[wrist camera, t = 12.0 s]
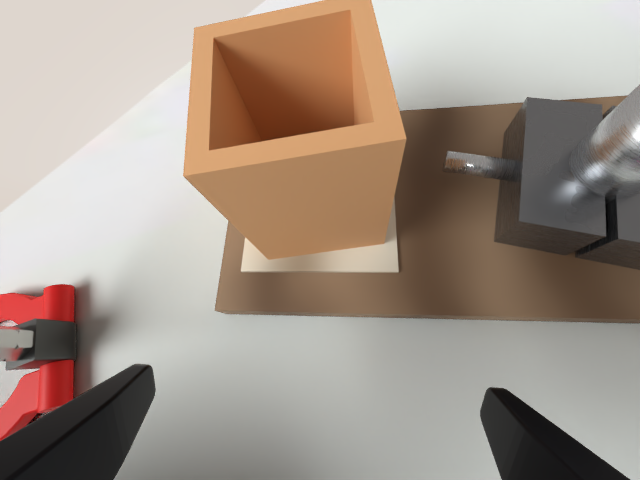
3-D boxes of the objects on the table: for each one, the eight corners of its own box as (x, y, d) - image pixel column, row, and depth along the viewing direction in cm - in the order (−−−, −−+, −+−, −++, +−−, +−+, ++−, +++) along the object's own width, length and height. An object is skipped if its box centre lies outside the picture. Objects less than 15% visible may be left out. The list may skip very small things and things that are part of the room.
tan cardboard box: (384, 243, 15) (406, 138, 8) (268, 259, 16) (183, 176, 8) (365, 146, 17) (368, -9, 10) (264, 163, 18) (194, 27, 10)
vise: (654, 272, 13) (902, 206, 7) (430, 229, 15) (475, 149, 9) (644, 149, 15) (831, 16, 9) (447, 126, 17) (494, 4, 11)
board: (625, 114, 18) (651, 91, 16) (709, 324, 14) (755, 321, 12) (251, 136, 21) (242, 119, 19) (226, 313, 17) (212, 309, 15)
